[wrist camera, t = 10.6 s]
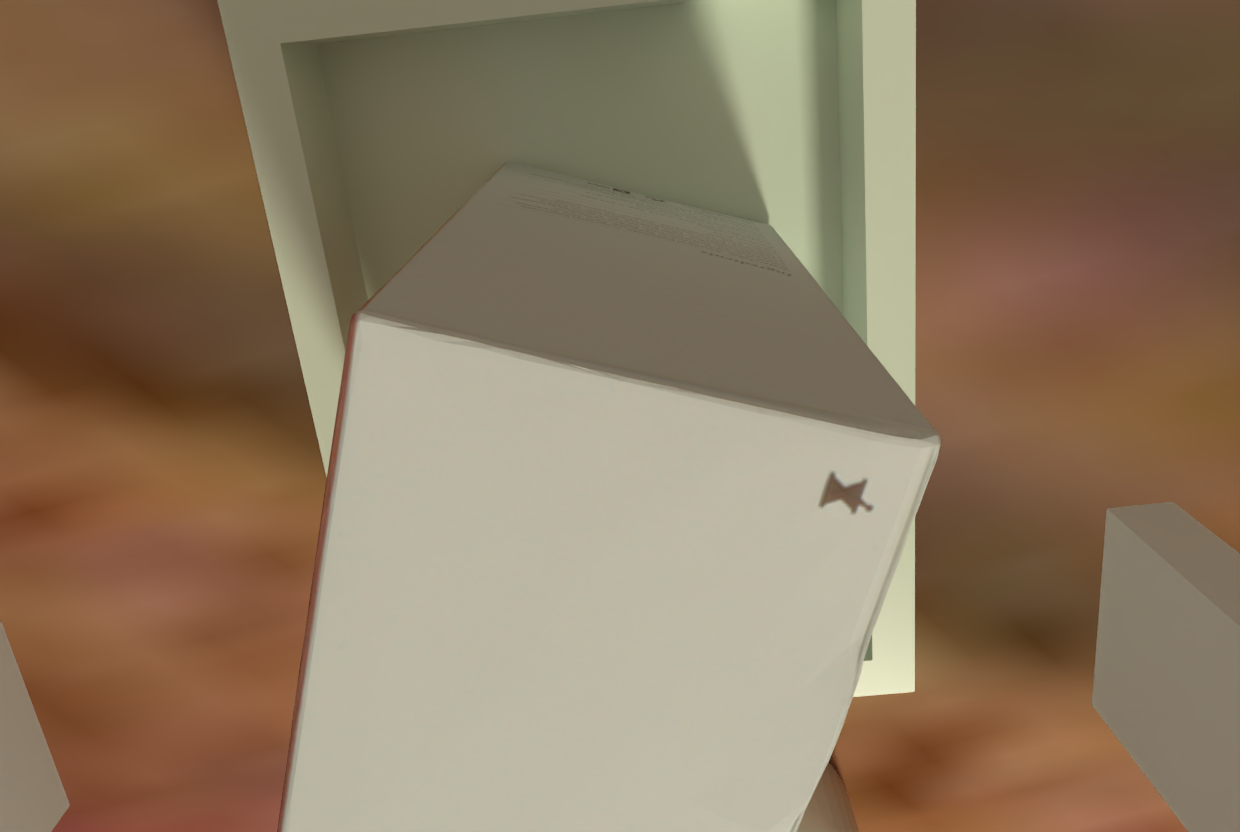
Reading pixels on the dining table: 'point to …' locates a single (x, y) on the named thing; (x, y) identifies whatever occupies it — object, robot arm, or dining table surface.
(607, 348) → the small box
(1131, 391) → the dining table surface
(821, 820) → the cream capsule cylinder
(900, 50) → the tray
